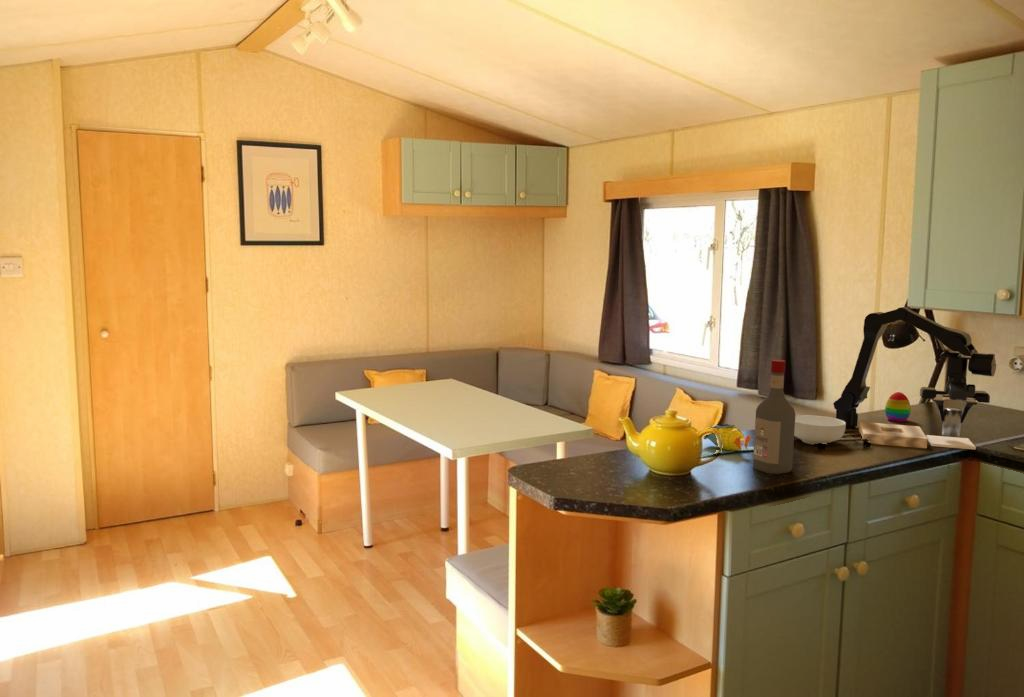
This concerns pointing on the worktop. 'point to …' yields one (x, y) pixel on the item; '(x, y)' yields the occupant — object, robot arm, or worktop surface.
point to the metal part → (951, 422)
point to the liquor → (774, 427)
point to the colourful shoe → (728, 440)
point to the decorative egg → (898, 407)
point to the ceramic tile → (950, 442)
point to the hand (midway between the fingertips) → (951, 422)
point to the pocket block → (893, 434)
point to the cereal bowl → (818, 429)
